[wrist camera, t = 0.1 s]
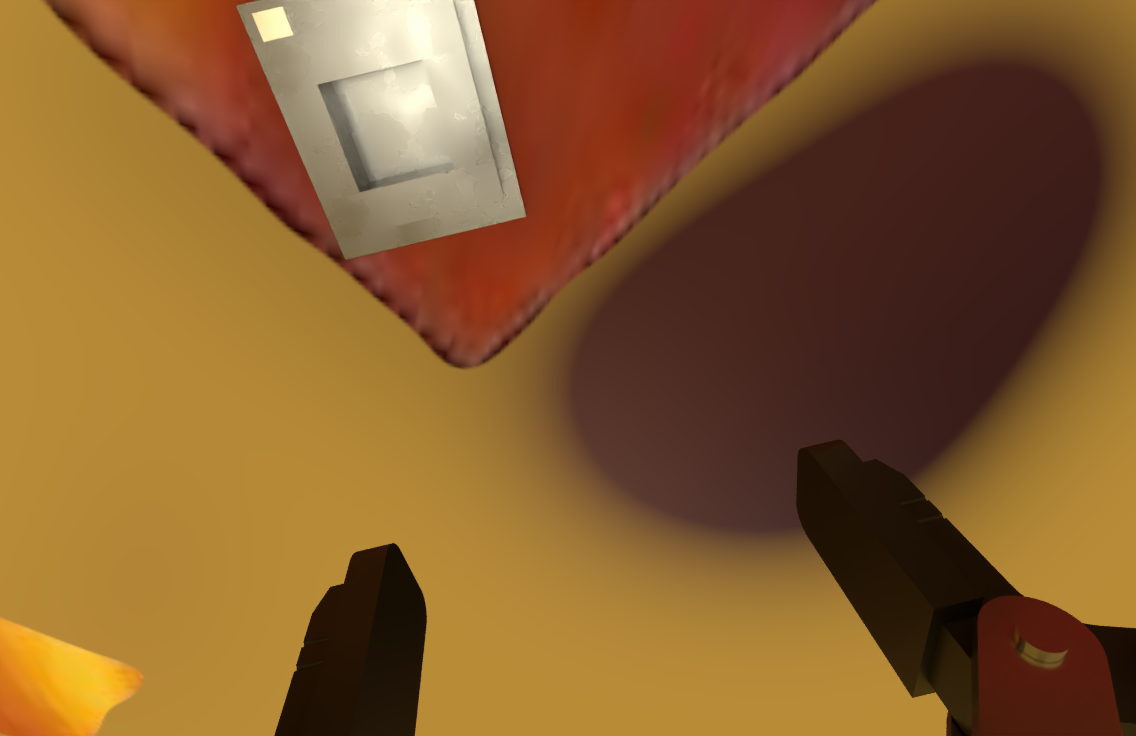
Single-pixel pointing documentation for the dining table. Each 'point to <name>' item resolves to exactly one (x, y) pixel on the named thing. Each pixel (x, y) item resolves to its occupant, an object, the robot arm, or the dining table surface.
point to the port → (389, 115)
